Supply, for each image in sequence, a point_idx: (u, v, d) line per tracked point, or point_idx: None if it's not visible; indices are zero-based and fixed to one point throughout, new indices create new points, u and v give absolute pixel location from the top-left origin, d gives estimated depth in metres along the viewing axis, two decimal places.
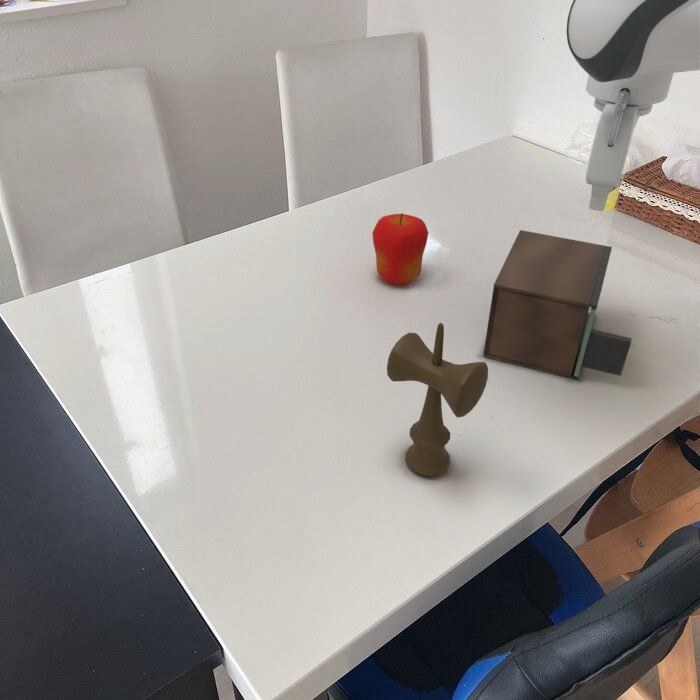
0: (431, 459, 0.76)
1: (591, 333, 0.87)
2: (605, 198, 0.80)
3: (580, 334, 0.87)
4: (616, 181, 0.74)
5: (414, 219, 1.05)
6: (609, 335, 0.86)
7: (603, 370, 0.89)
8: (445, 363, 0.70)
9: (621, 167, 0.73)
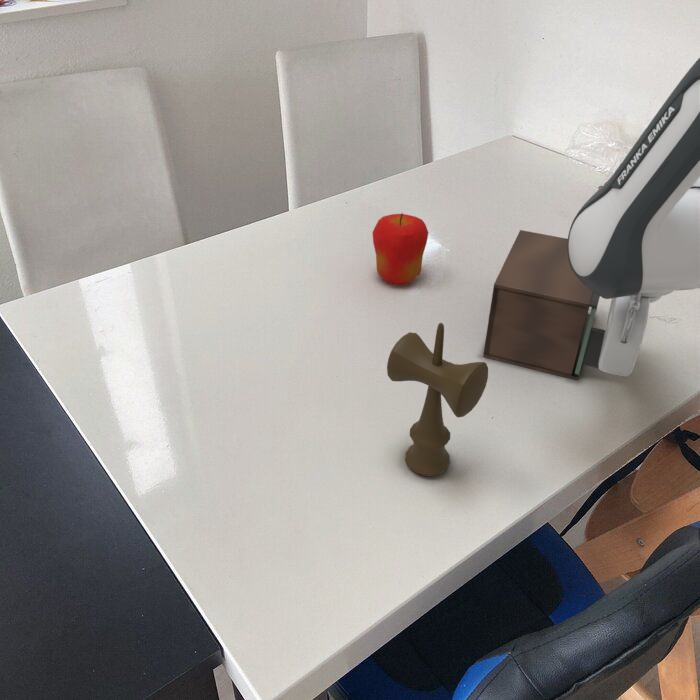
0: (431, 459, 0.76)
1: (592, 331, 0.87)
2: None
3: (580, 334, 0.87)
4: (629, 373, 0.75)
5: (414, 219, 1.05)
6: None
7: None
8: (445, 363, 0.70)
9: (634, 361, 0.74)
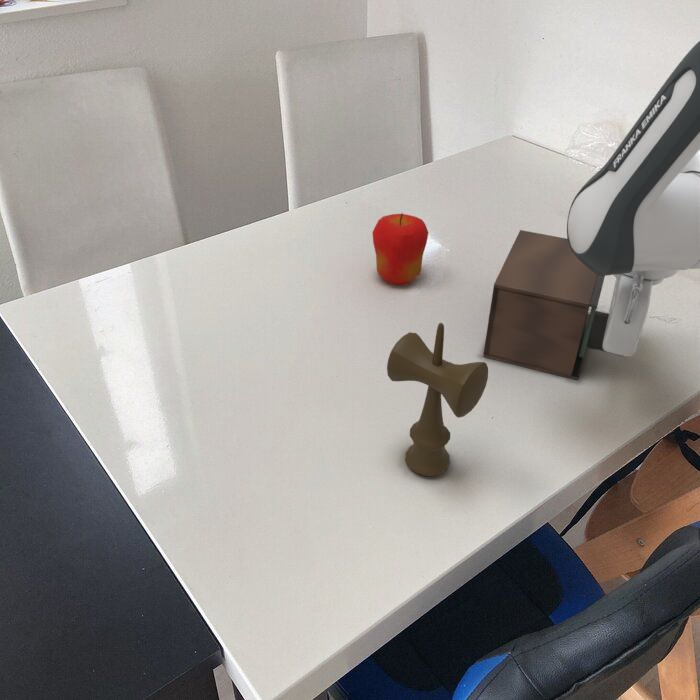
0: (431, 459, 0.76)
1: (596, 314, 0.90)
2: None
3: (580, 334, 0.87)
4: (632, 353, 0.78)
5: (414, 219, 1.05)
6: None
7: None
8: (445, 363, 0.70)
9: (637, 341, 0.77)
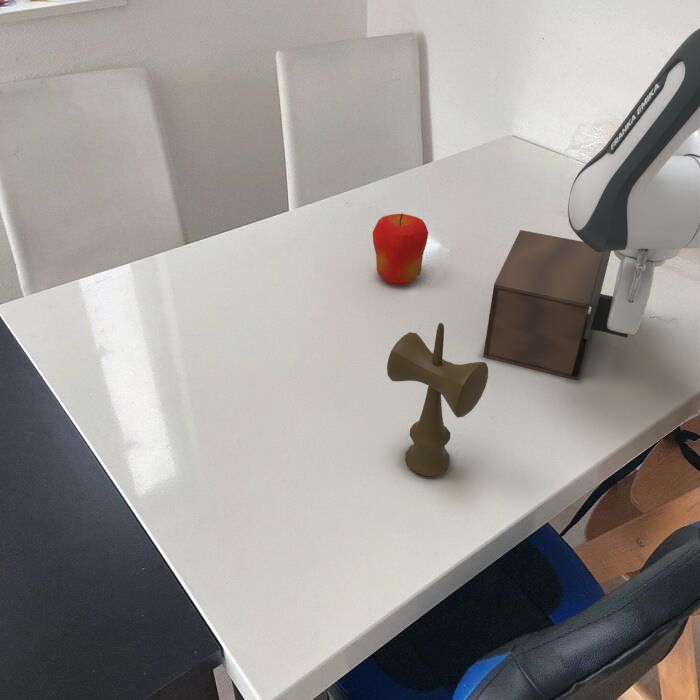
0: (431, 459, 0.76)
1: (600, 297, 0.93)
2: None
3: (580, 334, 0.87)
4: (636, 331, 0.81)
5: (414, 219, 1.05)
6: None
7: (611, 332, 0.95)
8: (445, 363, 0.70)
9: (640, 319, 0.80)
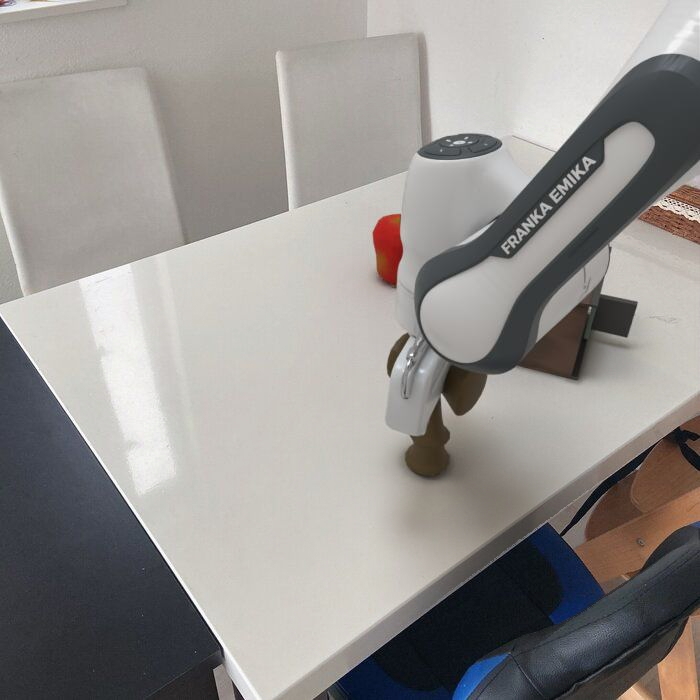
0: (430, 458, 0.76)
1: (600, 297, 0.93)
2: None
3: (580, 334, 0.87)
4: (417, 433, 0.63)
5: None
6: (617, 298, 0.93)
7: (611, 332, 0.95)
8: None
9: (420, 420, 0.62)
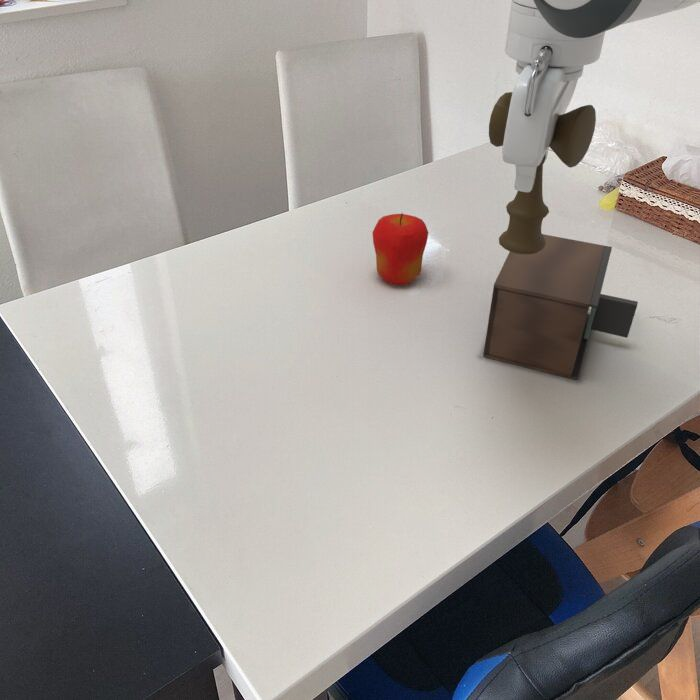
0: (529, 234, 0.74)
1: (600, 297, 0.93)
2: (532, 177, 0.68)
3: (580, 334, 0.87)
4: (537, 159, 0.61)
5: (414, 219, 1.05)
6: (617, 298, 0.93)
7: (611, 332, 0.95)
8: None
9: (542, 141, 0.60)
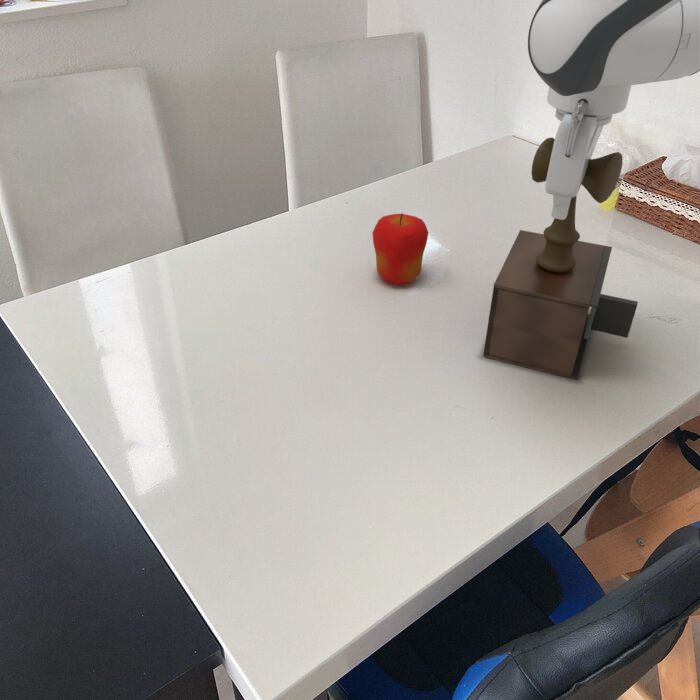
0: (562, 255, 0.88)
1: (600, 297, 0.93)
2: (567, 207, 0.80)
3: (580, 334, 0.87)
4: (575, 191, 0.74)
5: (414, 219, 1.05)
6: (617, 298, 0.93)
7: (611, 332, 0.95)
8: None
9: (579, 177, 0.74)
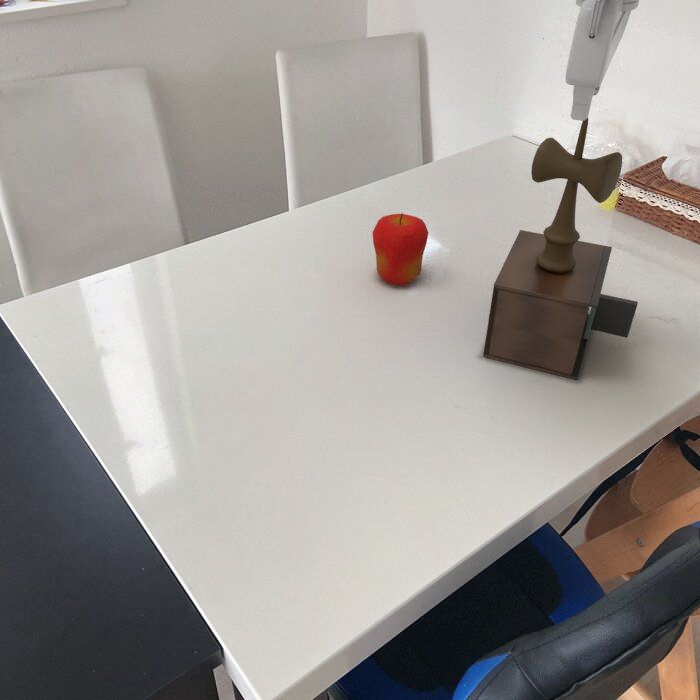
0: (562, 255, 0.88)
1: (600, 297, 0.93)
2: (588, 105, 0.73)
3: (580, 334, 0.87)
4: (599, 79, 0.67)
5: (414, 219, 1.05)
6: (617, 298, 0.93)
7: (611, 332, 0.95)
8: (584, 158, 0.82)
9: (604, 62, 0.66)
